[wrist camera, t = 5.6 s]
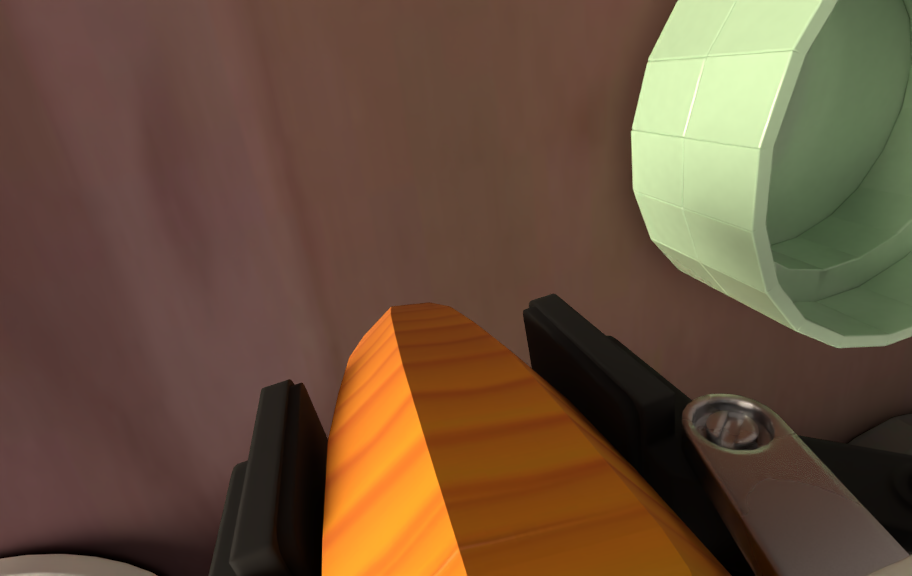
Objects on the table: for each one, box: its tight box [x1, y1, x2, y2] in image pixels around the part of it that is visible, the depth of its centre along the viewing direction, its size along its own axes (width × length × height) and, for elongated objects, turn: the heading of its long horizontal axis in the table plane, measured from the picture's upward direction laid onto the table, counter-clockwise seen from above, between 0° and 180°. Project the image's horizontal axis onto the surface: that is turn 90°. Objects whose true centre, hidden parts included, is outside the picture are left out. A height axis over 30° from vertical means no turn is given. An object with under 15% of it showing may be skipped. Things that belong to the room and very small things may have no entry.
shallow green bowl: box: [631, 0, 912, 348], centre depth 17 cm, size 15×15×6 cm
